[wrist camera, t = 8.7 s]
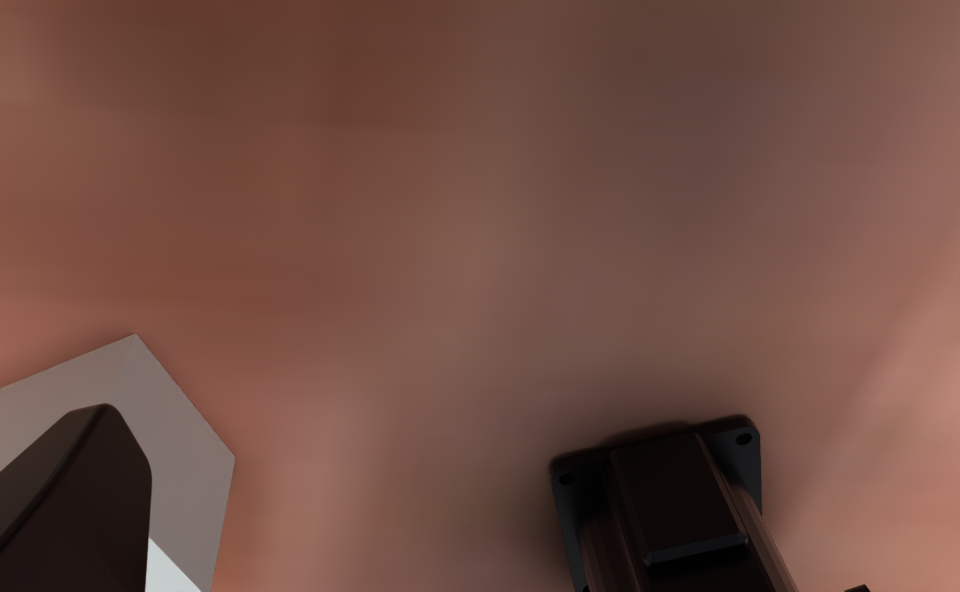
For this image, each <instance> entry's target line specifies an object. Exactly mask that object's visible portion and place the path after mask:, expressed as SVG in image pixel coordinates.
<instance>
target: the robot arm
mask: <svg viewBox="0 0 960 592" xmlns="http://www.w3.org/2000/svg"><path fill="white" fill-rule="evenodd" d="M743 433H745V434H744V435H742V436H739V435H741V434H743ZM565 473H570V474H568V475H566V476H561V475H563V474H565ZM549 476H550V481H551V485H552V490H553V494H554V499H555V503H556V507H557V512H558V516H559V521H560V525H561V530H562V534H563V539H564V543H565V548H566V552H567V557H568V561H569V566H570V570H571V575H572V579H573V584H574V588H575V592H799V591H798V589H797V587H796V585H795V583H794V581H793V579H792V577H791V575H790V573H789V571H788V569H787V567H786V565H785V563H784V561H783V559H782V557H781V555H780V553H779V551H778V549H777V547H776V545H775V543H774V541H773V539H772V537H771V535H770V533H769V531H768V529H767V527H766V525H765V523H764V521H763V519H762V503H761V457H760V434H759V431H758V429H757V428H756V426H755V424H754V422H752V421H751V420H750V419H746V418H740V419H735V420H730V421H726V422H721V423H717V424H713V425H708V426H704V427H699V428H695V429H690V430H686V431H682V432H677V433H673V434H668V435H664V436H659V437H655V438H651V439H646V440H642V441H637V442H633V443H628V444H624V445H620V446H615V447H611V448H606V449H602V450H597V451H593V452H589V453H584V454H580V455H575V456H571V457H566V458H562V459H559V460H557V461H555V462H554V463H553V464H552V465H551V466H550V468H549ZM151 496H152V472H151V467H150V464H149V461H148V459H147V457H146V455H145V453H144V451H143V450H142V448H141V446H140V445H139V443H138V441H137V440H136V438H135V436H134V435H133V433H132V431H131V430H130V428H129V426H128V425H127V423H126V421H125V420H124V418H123V416H122V415H121V413H120V412H119V411H118V409H117V408H116V407H114V406H113V405H111V404H108V403H102V404H97V405H93V406H88V407H84V408H80V409H75V410H72V411H69V412H67V413H66V414H65V415H63V416H62V417H61V418H60V419H59V420H58V421H57V422H55V423H54V424H53V425H52V426H51V427H50V428H49V429H48V430H46V431H45V432H44V433H43V434H42V435H41V436H40V437H39V438H37V439H36V440H35V441H34V442H33V443H32V444H31V445H30V446H28V447H27V448H26V449H25V450H24V451H23V452H22V453H20V454H19V455H18V456H17V457H16V458H15V459H14V460H13V461H11V462H10V463H9V464H8V465H7V466H6V467H5V468H4V469H2V470H1V471H0V592H145V590H146V575H147V559H148V543H149V528H150V512H151ZM844 592H870V590H869V589H868V588H867V586H866V585H865V584H863V585H860V586H857V587H854V588H851V589H848V590H845V591H844Z"/></svg>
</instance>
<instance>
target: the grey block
mask: <svg viewBox="0 0 960 592" xmlns="http://www.w3.org/2000/svg"><path fill="white" fill-rule="evenodd" d="M102 403H108V404H111V405H113V406H114V407H116V408H117V409H118V411H119V412H120V413H121V415H122V416H123V418H124V420H125V421H126V423H127V425H128V426H129V428H130V430H131V431H132V433H133V435H134V436H135V438H136V440H137V441H138V443H139V445H140V446H141V448H142V450H143V451H144V453H145V455H146V457H147V459H148V461H149V464H150V467H151V472H152V496H151V512H150V528H149V543H148V559H147V575H146V590H145V592H211V586H212V581H213V576H214V570H215V565H216V560H217V554H218V549H219V544H220V538H221V533H222V528H223V522H224V517H225V512H226V506H227V501H228V496H229V490H230V485H231V480H232V474H233V469H234V464H235V456H234V455H233V454H232V453H231V451H230V450H229V449H228V448H227V446H226V445H225V444H224V443H223V441H222V440H221V439H220V438H219V436H218V435H217V434H216V433H215V431H214V430H213V429H212V428H211V426H210V425H209V424H208V423H207V422H206V420H205V419H204V418H203V417H202V415H201V414H200V413H199V412H198V410H197V409H196V408H195V407H194V405H193V404H192V403H191V402H190V400H189V399H188V398H187V397H186V395H185V394H184V393H183V392H182V390H181V389H180V388H179V387H178V385H177V384H176V383H175V382H174V380H173V379H172V378H171V377H170V375H169V374H168V373H167V372H166V370H165V369H164V368H163V367H162V365H161V364H160V363H159V362H158V360H157V359H156V358H155V357H154V355H153V354H152V353H151V352H150V350H149V349H148V348H147V347H146V345H145V344H144V343H143V342H142V340H141V339H140V338H139V337H138V335H137V334H136V333H135V334H132V335H130V336H127V337H125V338H122V339H120V340H118V341H115V342H113V343H110V344H108V345H105V346H103V347H100V348H98V349H95V350H93V351H90V352H88V353H86V354H83V355H81V356H78V357H76V358H73V359H71V360H68V361H66V362H63V363H61V364H58V365H56V366H54V367H51V368H49V369H46V370H44V371H41V372H39V373H36V374H34V375H31V376H29V377H26V378H24V379H22V380H19V381H17V382H14V383H12V384H9V385H7V386H4V387H2V388H0V471H1V470H2V469H4V468H5V467H6V466H7V465H8V464H9V463H10V462H11V461H13V460H14V459H15V458H16V457H17V456H18V455H19V454H20V453H22V452H23V451H24V450H25V449H26V448H27V447H28V446H30V445H31V444H32V443H33V442H34V441H35V440H36V439H37V438H39V437H40V436H41V435H42V434H43V433H44V432H45V431H46V430H48V429H49V428H50V427H51V426H52V425H53V424H54V423H55V422H57V421H58V420H59V419H60V418H61V417H62V416H63V415H65V414H66V413H67V412H69V411H72V410H75V409H80V408H84V407H88V406H93V405H97V404H102Z"/></svg>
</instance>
